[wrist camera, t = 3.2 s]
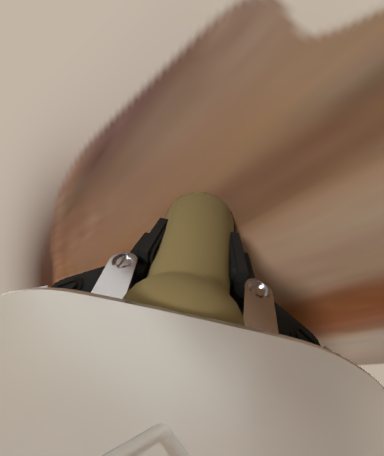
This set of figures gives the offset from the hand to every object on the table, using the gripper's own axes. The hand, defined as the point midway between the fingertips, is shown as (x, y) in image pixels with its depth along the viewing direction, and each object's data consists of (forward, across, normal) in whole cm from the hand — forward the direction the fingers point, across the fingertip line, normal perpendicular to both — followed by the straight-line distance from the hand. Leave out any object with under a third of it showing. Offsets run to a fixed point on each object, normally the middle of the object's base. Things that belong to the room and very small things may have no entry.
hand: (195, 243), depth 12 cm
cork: (+3, 0, 0) cm, 3 cm away
